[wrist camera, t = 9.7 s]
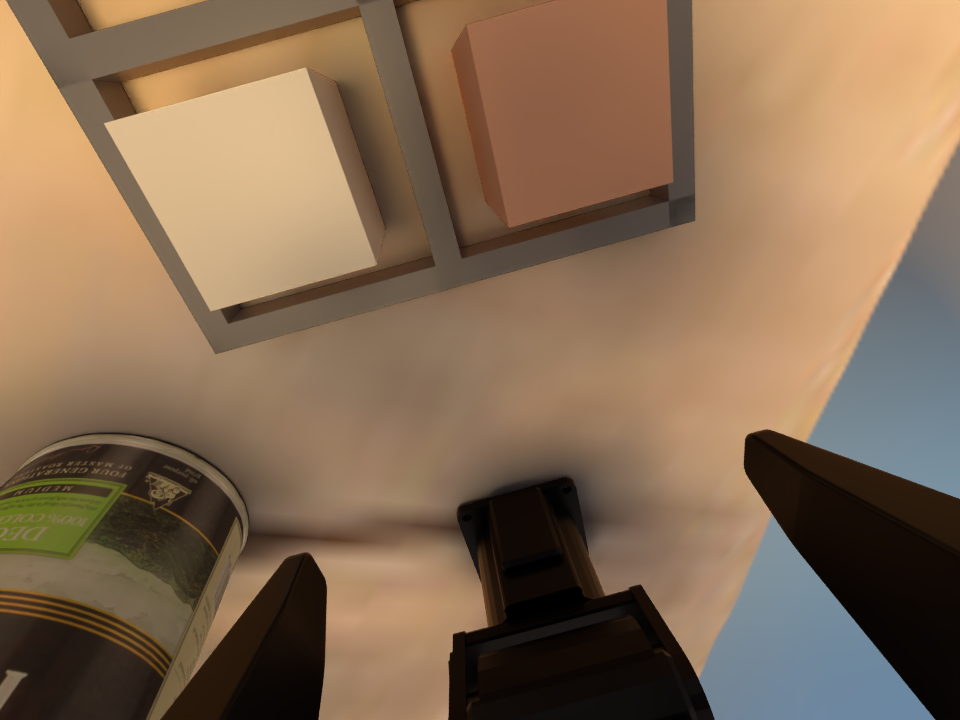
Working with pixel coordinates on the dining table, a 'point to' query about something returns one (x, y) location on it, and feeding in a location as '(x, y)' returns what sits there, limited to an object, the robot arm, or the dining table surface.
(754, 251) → the dining table surface
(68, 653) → the coffee can
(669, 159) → the terracotta block
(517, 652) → the robot arm
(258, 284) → the charcoal frame
